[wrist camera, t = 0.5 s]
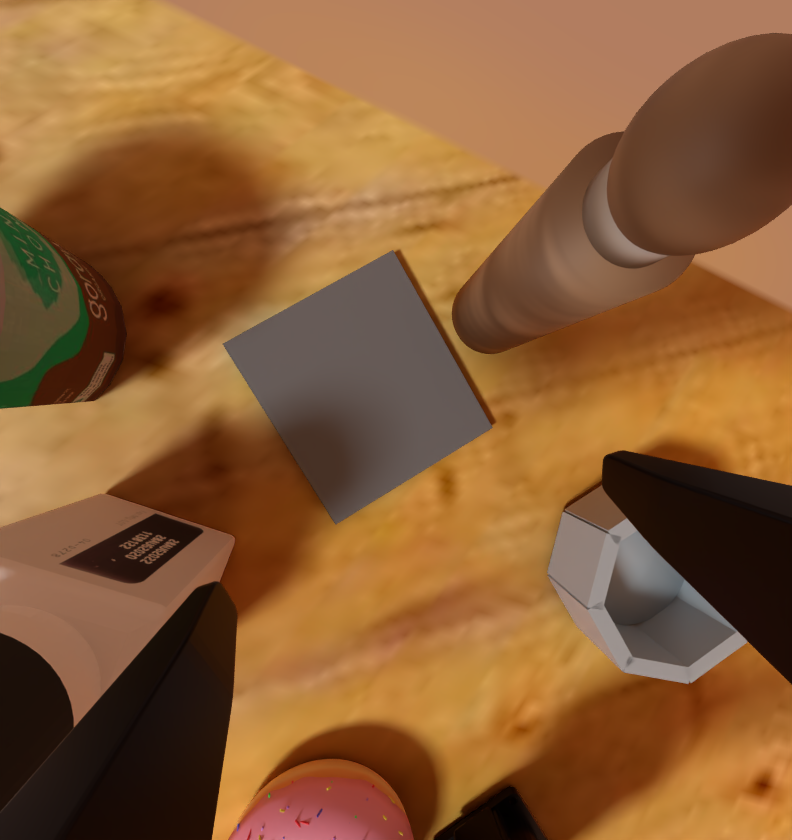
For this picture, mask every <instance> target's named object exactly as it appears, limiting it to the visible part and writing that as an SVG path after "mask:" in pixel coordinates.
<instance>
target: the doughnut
mask: <svg viewBox="0 0 792 840" xmlns="http://www.w3.org/2000/svg"><path fill="white" fill-rule="evenodd" d="M228 840H414V838H413V834H412V830H411V826H410V823H409V821H408V818H407V815H406V812H405V810H404V807H403V805H402V803H401V801H400V799H399V797H398V796H397V794H396V793H395V791H394V790H393V789H392V787H391V786H390V785H389V784H388V783H387V782H386V781H385V780H384V779H383V778H382V777H381V776H380V775H378V774H377V773H376V772H374V771H373V770H371V769H369V768H368V767H366V766H363V765H361V764H358V763H356V762H352V761H348V760H342V759H321V760H315V761H310V762H306V763H303V764H300V765H298V766H295V767H293V768H291V769H289V770H287V771H285V772H284V773H282V774H280V775H279V776H277V777H276V778H274V779H273V780H272V781H271V782H269V783H268V784H267V785H266V786H265V787H264V788H263V789H262V790H261V791H260V792H259V793H258V794H257V795H256V796H255V797H254V798H253V799H252V801H251V802H250V803H249V804H248V806H247V807H246V809H245V810H244V812H243V813H242V815H241V817H240V818H239V820H238V822H237V824H236V826H235V829H234V831H233V832H232V834H231V836H230V837H229V839H228Z"/></svg>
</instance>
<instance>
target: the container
mask: <svg viewBox="0 0 792 840" xmlns="http://www.w3.org/2000/svg"><path fill="white" fill-rule="evenodd" d="M234 544H235V538H234V536H232V535H230V534H227V533H224V532H221V531H218V530H215V529H212V528H209V527H206V526H203V525H200V524H197V523H194V522H191V521H187V520H184V519H181V518H178V517H175V516H172V515H169V514H166V513H163V512H160V511H157V510H154V509H151V508H148V507H145V506H142V505H139V504H136V503H133V502H129V501H126V500H123V499H120V498H117V497H114V496H111V495H108V494H99V495H96V496H93V497H90V498H87V499H84V500H81V501H78V502H75V503H72V504H69V505H66V506H63V507H60V508H57V509H54V510H51V511H48V512H45V513H42V514H39V515H36V516H33V517H30V518H27V519H24V520H21V521H18V522H15V523H12V524H9V525H6V526H3V527H1V528H0V812H1V810H2V809H3V808H4V807H5V806H6V805H7V804H8V802H9V801H10V800H11V799H12V798H13V797H14V796H15V794H16V793H17V792H18V791H19V790H20V789H21V787H22V786H23V785H24V784H25V783H26V782H27V781H28V779H29V778H30V777H31V776H32V775H33V774H34V773H35V771H36V770H37V769H38V768H39V767H40V766H41V765H42V763H43V762H44V761H45V760H46V759H47V758H48V757H49V755H50V754H51V753H52V752H53V751H54V750H55V749H56V747H57V746H58V745H59V744H60V743H61V742H62V741H63V739H64V738H65V737H66V736H67V735H68V734H69V733H70V731H71V730H72V729H73V728H74V727H75V726H76V725H77V723H78V722H79V721H80V720H81V719H82V718H83V717H84V715H85V714H86V713H87V712H88V711H89V710H90V709H91V707H92V706H93V705H94V704H95V703H96V702H97V701H98V699H99V698H100V697H101V696H102V695H103V694H104V692H105V691H106V690H107V689H108V688H109V687H110V686H111V684H112V683H113V682H114V681H115V680H116V679H117V678H118V676H119V675H120V674H121V673H122V672H123V671H124V670H125V668H126V667H127V666H128V665H129V664H130V663H131V662H132V660H133V659H134V658H135V657H136V656H137V655H138V654H139V652H140V651H141V650H142V649H143V648H144V647H145V646H146V644H147V643H148V642H149V641H150V640H151V639H152V637H153V636H154V635H155V634H156V633H157V632H158V631H159V629H160V628H161V627H162V626H163V625H164V624H165V623H166V621H167V620H168V619H169V618H170V617H171V616H172V615H173V613H174V612H175V611H176V610H177V609H178V608H179V607H180V605H181V604H182V603H183V602H184V601H185V600H186V599H187V597H188V596H189V595H190V594H191V593H192V592H193V591H194V590H195V589H196V588H197V587H199V586H201V585H204V584H207V583H210V582H213V581H218V582H220V579H221V577H222V574H223V572H224V569H225V567H226V564H227V562H228V559H229V557H230V554H231V551H232V549H233V546H234Z"/></svg>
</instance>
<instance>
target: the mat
mask: <svg viewBox="0 0 792 840" xmlns="http://www.w3.org/2000/svg"><path fill="white" fill-rule="evenodd" d="M223 345H224V347H225V349H226V350H227V352H228V353H229V355H230V357H231V358H232V360H233V361H234V363H235V365H236V366H237V368H238V369H239V371H240V373H241V374H242V376H243V377H244V379H245V381H246V382H247V384H248V385H249V387H250V388H251V390H252V392H253V393H254V395H255V396H256V398H257V400H258V401H259V403H260V404H261V406H262V408H263V409H264V411H265V412H266V414H267V416H268V417H269V419H270V420H271V422H272V424H273V425H274V427H275V428H276V430H277V432H278V433H279V435H280V436H281V438H282V440H283V441H284V443H285V444H286V446H287V448H288V449H289V451H290V452H291V454H292V456H293V457H294V459H295V460H296V462H297V464H298V465H299V467H300V468H301V470H302V472H303V473H304V475H305V476H306V478H307V480H308V481H309V483H310V484H311V486H312V488H313V489H314V491H315V492H316V494H317V496H318V497H319V499H320V500H321V502H322V503H323V505H324V507H325V508H326V510H327V511H328V513H329V515H330V516H331V518H332V519H333V521H334V523H335V524H337V523H339V522H341V521H342V520H344V519H345V518H347V517H349V516H350V515H352V514H354V513H355V512H357V511H358V510H360V509H362V508H363V507H365V506H366V505H368V504H370V503H371V502H373V501H375V500H376V499H378V498H379V497H381V496H383V495H384V494H386V493H388V492H389V491H391V490H392V489H394V488H396V487H397V486H399V485H401V484H402V483H404V482H405V481H407V480H409V479H410V478H412V477H414V476H415V475H417V474H418V473H420V472H422V471H423V470H425V469H426V468H428V467H430V466H431V465H433V464H435V463H436V462H438V461H439V460H441V459H443V458H444V457H446V456H448V455H449V454H451V453H452V452H454V451H456V450H457V449H459V448H461V447H462V446H464V445H465V444H467V443H469V442H470V441H472V440H473V439H475V438H477V437H478V436H480V435H482V434H483V433H485V432H486V431H488V430H490V429H491V428H493V427H492V426H491V424H490V422H489V420H488V419H487V417H486V415H485V413H484V411H483V410H482V408H481V406H480V404H479V403H478V401H477V399H476V397H475V395H474V394H473V392H472V390H471V388H470V386H469V385H468V383H467V381H466V379H465V378H464V376H463V374H462V372H461V370H460V369H459V367H458V365H457V363H456V362H455V360H454V358H453V356H452V354H451V353H450V351H449V349H448V347H447V345H446V344H445V342H444V340H443V338H442V337H441V335H440V333H439V331H438V329H437V328H436V326H435V324H434V322H433V321H432V319H431V317H430V315H429V313H428V312H427V310H426V308H425V306H424V304H423V303H422V301H421V299H420V297H419V296H418V294H417V292H416V290H415V288H414V287H413V285H412V283H411V281H410V280H409V278H408V276H407V274H406V272H405V271H404V269H403V267H402V265H401V263H400V262H399V260H398V258H397V256H396V255H395V253H394V251H393V250H392V251H390V252H389V253H387V254H385V255H383V256H381V257H380V258H378V259H376V260H374V261H372V262H370V263H369V264H367V265H365V266H363V267H361V268H360V269H358V270H356V271H354V272H352V273H350V274H349V275H347V276H345V277H343V278H341V279H340V280H338V281H336V282H334V283H332V284H330V285H329V286H327V287H325V288H323V289H321V290H320V291H318V292H316V293H314V294H312V295H311V296H309V297H307V298H305V299H303V300H301V301H300V302H298V303H296V304H294V305H292V306H291V307H289V308H287V309H285V310H283V311H281V312H280V313H278V314H276V315H274V316H272V317H271V318H269V319H267V320H265V321H263V322H261V323H260V324H258V325H256V326H254V327H252V328H251V329H249V330H247V331H245V332H243V333H242V334H240V335H238V336H236V337H234V338H232V339H231V340H229V341H227V342H225V343H223Z"/></svg>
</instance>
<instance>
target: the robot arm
mask: <svg viewBox="0 0 792 840" xmlns="http://www.w3.org/2000/svg"><path fill="white" fill-rule="evenodd" d="M602 487H603V490H604V491H605V493H606V494H607V495H608V497H609V498H610V499H611V500H612V501H613V503H614V504H615V505H616V506H617V507H618V508H619V510H620V511H621V512H622V513H623V514H624V515H625V517H626V518H627V519H628V520H629V521H630V522H631V524H632V525H633V526H634V527H635V528H636V529H637V531H638V532H639V533H640V534H641V535H642V537H643V538H644V539H645V540H646V541H647V542H648V543H649V544H650V545H651V547H652V548H653V549H654V550H655V551H656V552H657V553H658V554H659V555H660V556H661V557H662V558H663V559H664V560H665V561H666V562H667V563H668V564H669V565H670V566H671V567H672V568H673V569H674V570H676V571H677V572H678V573H679V574H680V575H681V576H682V577H683V578H684V579H685V580H686V581H687V582H688V583H689V584H690V585H691V586H692V587H693V588H694V589H695V590H696V591H697V592H698V593H699V594H700V595H701V596H702V597H703V598H704V599H705V600H706V601H707V602H708V603H709V604H710V605H711V606H712V607H713V608H714V609H715V610H716V611H717V612H718V613H719V614H720V615H721V616H722V617H723V618H724V619H725V620H727V621H728V622H729V623H730V624H731V625H732V626H733V627H734V628H735V629H736V630H737V631H738V632H739V633H740V634H741V635H742V636H743V637H744V638H745V639H746V640H747V641H748V642H749V643H750V644H751V645H752V646H753V647H754V648H755V649H756V650H757V651H758V652H759V653H760V654H761V655H762V656H763V657H764V658H765V659H766V660H767V661H768V662H769V663H770V664H771V665H772V666H773V667H774V668H775V669H776V670H778V671H779V672H780V673H781V674H782V675H783V676H784V677H785V678H786V679H787V680H788V681H789V682H790V683H791V684H792V486H790V485H785V484H781V483H776V482H771V481H766V480H762V479H757V478H752V477H747V476H743V475H738V474H733V473H728V472H724V471H719V470H714V469H709V468H705V467H700V466H695V465H691V464H686V463H681V462H676V461H672V460H667V459H662V458H657V457H653V456H648V455H643V454H638V453H634V452H629V451H617V452H614V453H611V454H608V455H606V456H605V457H604V459H603V467H602ZM236 632H237V610H236V607H235V604H234V603H233V601H232V599H231V598H230V596H229V595H228V593H227V592H226V590H225V588H224V587H223V585H222V584H221V583H220V582H218V581H213V582H210V583H207V584H204V585H201V586H199V587H197V588H196V589H195V590H194V591H193V592H192V593H191V594H190V595H189V596H188V597H187V599H186V600H185V601H184V602H183V603H182V604H181V605H180V607H179V608H178V609H177V610H176V611H175V612H174V613H173V615H172V616H171V617H170V618H169V619H168V620H167V621H166V623H165V624H164V625H163V626H162V627H161V628H160V629H159V631H158V632H157V633H156V634H155V635H154V636H153V637H152V639H151V640H150V641H149V642H148V643H147V644H146V646H145V647H144V648H143V649H142V650H141V651H140V652H139V654H138V655H137V656H136V657H135V658H134V659H133V660H132V662H131V663H130V664H129V665H128V666H127V667H126V668H125V670H124V671H123V672H122V673H121V674H120V675H119V676H118V678H117V679H116V680H115V681H114V682H113V683H112V684H111V686H110V687H109V688H108V689H107V690H106V691H105V692H104V694H103V695H102V696H101V697H100V698H99V699H98V701H97V702H96V703H95V704H94V705H93V706H92V707H91V709H90V710H89V711H88V712H87V713H86V714H85V715H84V717H83V718H82V719H81V720H80V721H79V722H78V723H77V725H76V726H75V727H74V728H73V729H72V730H71V731H70V733H69V734H68V735H67V736H66V737H65V738H64V739H63V741H62V742H61V743H60V744H59V745H58V746H57V747H56V749H55V750H54V751H53V752H52V753H51V754H50V755H49V757H48V758H47V759H46V760H45V761H44V762H43V763H42V765H41V766H40V767H39V768H38V769H37V770H36V771H35V773H34V774H33V775H32V776H31V777H30V778H29V779H28V781H27V782H26V783H25V784H24V785H23V786H22V787H21V789H20V790H19V791H18V792H17V793H16V794H15V796H14V797H13V798H12V799H11V800H10V801H9V802H8V804H7V805H6V806H5V807H4V808H3V809H2V810H1V812H0V840H212V834H213V827H214V821H215V814H216V807H217V801H218V794H219V787H220V781H221V774H222V767H223V761H224V754H225V748H226V741H227V734H228V728H229V721H230V714H231V707H232V699H233V688H234V672H235V652H236ZM435 840H548V839H547V837H546V836H545V834H544V833H543V831H542V829H541V828H540V826H539V825H538V823H537V821H536V820H535V818H534V816H533V815H532V813H531V812H530V810H529V808H528V807H527V805H526V804H525V802H524V800H523V799H522V797H521V796H520V794H519V792H518V791H517V789H516V788H515V787H508V788H506V789H505V790H503V791H502V792H501V793H499V794H498V795H496V796H495V797H494V798H492V799H491V800H489V801H488V802H487V803H485V804H484V805H483V806H481V807H480V808H478V809H477V810H476V811H474V812H473V813H471V814H470V815H469V816H467V817H466V818H465V819H463V820H462V821H460V822H459V823H458V824H456V825H455V826H453V827H452V828H451V829H449V830H448V831H447V832H445V833H444V834H442V835H441V836H440V837H438V838H437V839H435Z"/></svg>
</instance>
